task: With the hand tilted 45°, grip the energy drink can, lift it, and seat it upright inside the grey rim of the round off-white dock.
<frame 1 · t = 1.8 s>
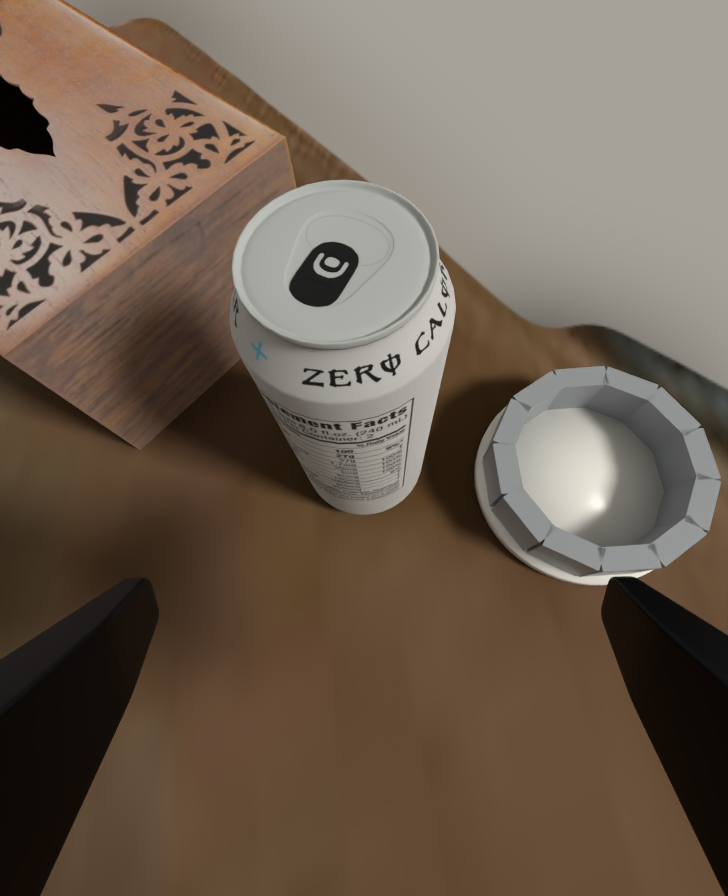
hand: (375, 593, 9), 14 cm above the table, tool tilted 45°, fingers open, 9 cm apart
dock: (575, 481, 24), on the table
energy drink can: (364, 464, 25), on the table
tissue box cover: (110, 262, 31), on the table
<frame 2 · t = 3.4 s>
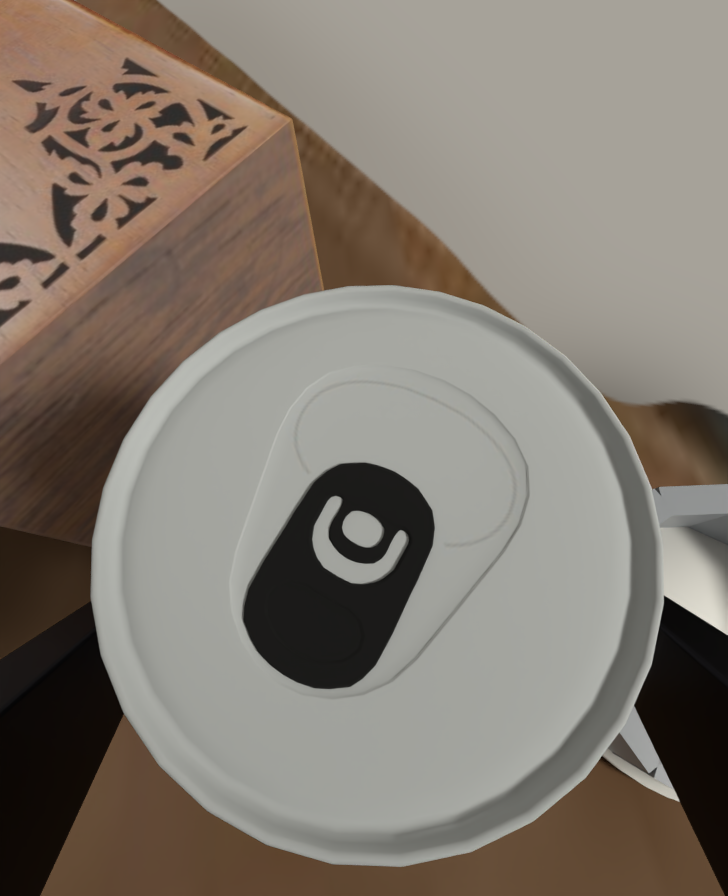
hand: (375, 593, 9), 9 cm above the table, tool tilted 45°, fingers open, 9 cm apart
dock: (674, 633, 17), on the table
energy drink can: (381, 593, 18), on the table
tissue box cover: (61, 292, 24), on the table
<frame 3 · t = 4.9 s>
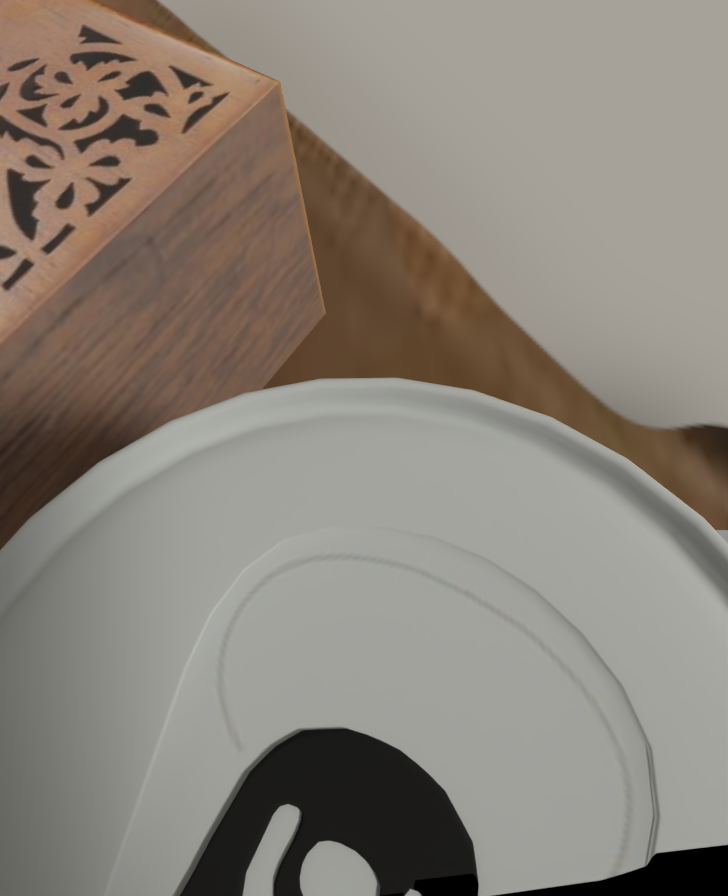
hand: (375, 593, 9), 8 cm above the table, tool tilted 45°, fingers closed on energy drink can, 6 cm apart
energy drink can: (379, 642, 16), on the table, touching gripper
tissue box cover: (30, 302, 22), on the table
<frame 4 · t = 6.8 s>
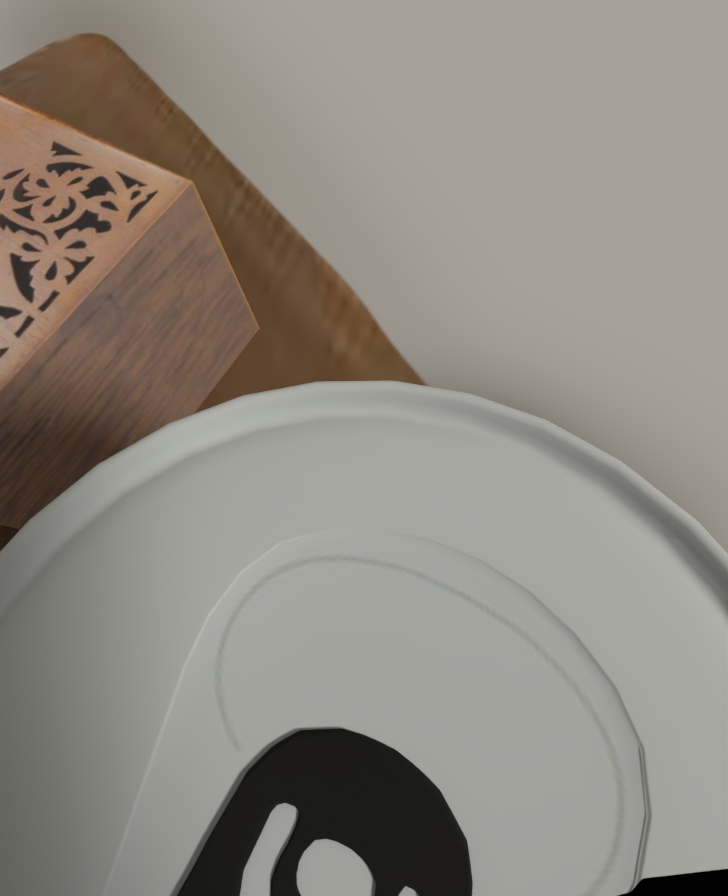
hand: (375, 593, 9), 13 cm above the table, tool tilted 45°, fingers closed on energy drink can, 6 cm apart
energy drink can: (378, 640, 16), point 5 cm above the table, touching gripper
tissue box cover: (21, 331, 28), on the table
when the fingers open (10 cm above the table, at t = 8.9 s): energy drink can stays where it is, resting on dock.
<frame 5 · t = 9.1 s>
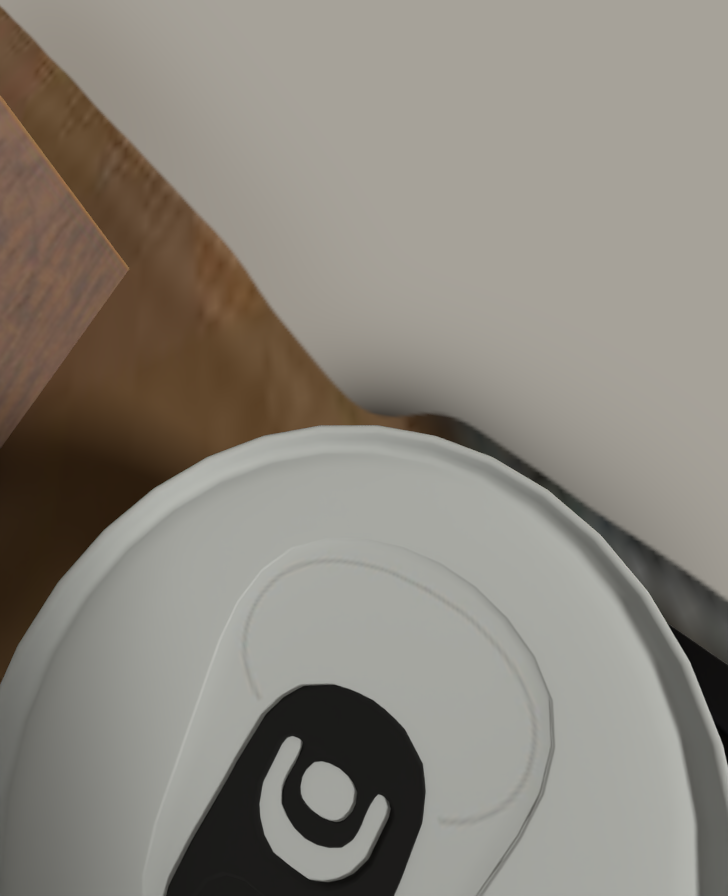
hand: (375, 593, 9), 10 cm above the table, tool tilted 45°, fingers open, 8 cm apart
energy drink can: (378, 645, 17), point 1 cm above the table, touching dock
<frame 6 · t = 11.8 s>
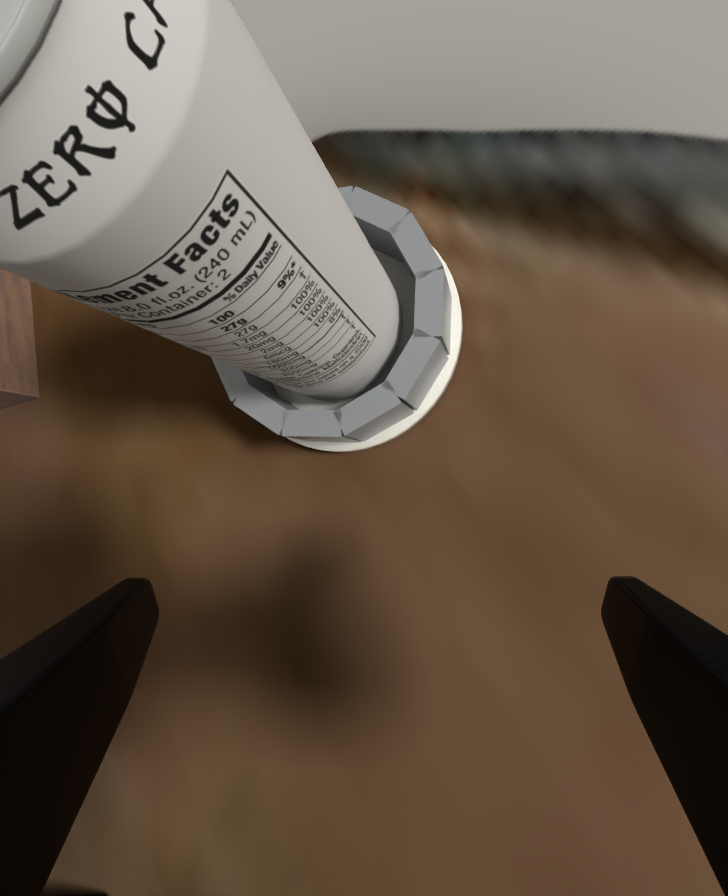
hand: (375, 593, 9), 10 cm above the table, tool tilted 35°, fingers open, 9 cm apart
dock: (345, 337, 21), on the table
energy drink can: (341, 337, 20), point 1 cm above the table, touching dock
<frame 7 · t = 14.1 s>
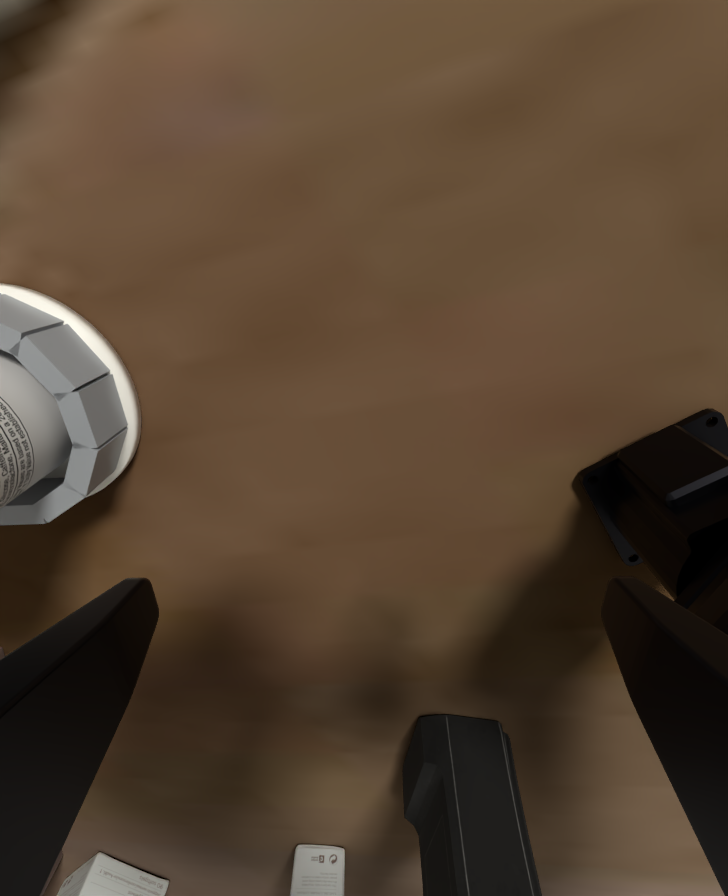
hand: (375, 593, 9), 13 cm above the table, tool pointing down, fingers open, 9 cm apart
skincare box: (322, 860, 39), on the table
dock: (30, 399, 21), on the table
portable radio: (451, 747, 32), on the table
supplement box: (118, 875, 41), on the table
energy drink can: (25, 404, 21), point 1 cm above the table, touching dock
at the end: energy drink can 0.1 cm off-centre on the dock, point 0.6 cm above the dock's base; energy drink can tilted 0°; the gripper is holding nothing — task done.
